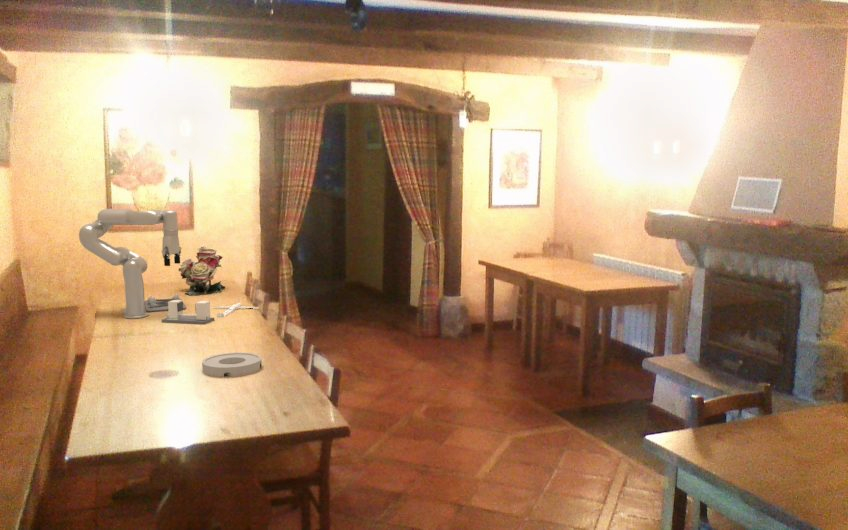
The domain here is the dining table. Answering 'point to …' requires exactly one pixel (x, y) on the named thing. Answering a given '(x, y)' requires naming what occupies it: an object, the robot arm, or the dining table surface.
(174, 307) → the cream rectangular block
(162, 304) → the grey tray
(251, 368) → the ashtray
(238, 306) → the articulated figure
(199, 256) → the rose bouquet
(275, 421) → the dining table surface
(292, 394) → the dining table surface
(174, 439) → the dining table surface
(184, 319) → the rail board
